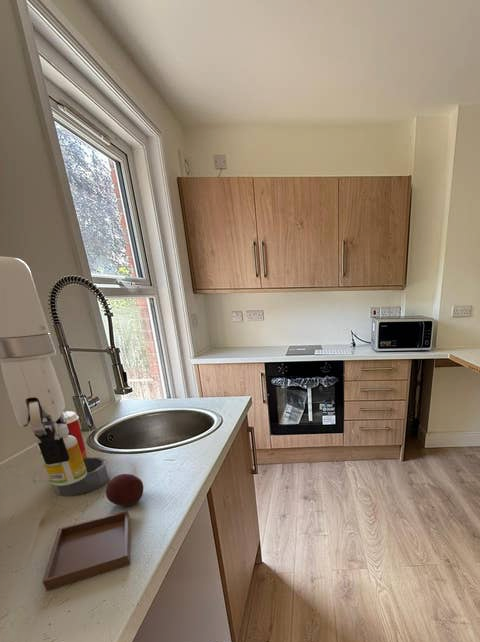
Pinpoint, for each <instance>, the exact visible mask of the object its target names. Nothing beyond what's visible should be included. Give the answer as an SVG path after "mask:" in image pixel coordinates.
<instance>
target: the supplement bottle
mask: <svg viewBox="0 0 480 642" xmlns="http://www.w3.org/2000/svg"><path fill="white" fill-rule="evenodd" d="M46 428H50V429H51V430H52V428H51V425H49V426H46ZM57 428H58V432H59V436H60V438H63V440H64V443H65V446H66V449H67V452H68V455H69V460H68V461H66V462H60V463H55V464H50V465H47V464H46V463H45V461H44V458H43V456H42V453H41V450H40V448H39V445H38V444H37V449H38V453H39V456H40V457H41V460H42V463H43V465H44V469H45V471H46V473H47V476H48V479H49V481H50V483H51V485H52V484H53V485H57V486H63V485H69V484H72V483H75V482H77V481H80V480H81V479H83V478H84V477H85V476H86V475H87V470H86V467H85V464H84V461H83V457H82V454H81V451H80V448H79V445H78V442H77V440H76V438H75V437H74V436H71V435H68V433H69V430H68V427H67V425H66V424H57ZM53 485H52V486H53Z"/></svg>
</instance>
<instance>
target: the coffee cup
mask: <svg viewBox="0 0 480 642" xmlns="http://www.w3.org/2000/svg"><path fill="white" fill-rule="evenodd" d="M63 414H64V417H65V419H66V422H67V425H68V427H69V430H70V433H71V436H74V437H75V438H76V440H77V442H78V445H79V448H80V451H81V454H82V457H83V458H86V457H88V455H87V451H86V446H85V442H84V438H83V433H82V430H81V425H80V421H79V419H80V417H79V415H78V414H77V413H76V412H75V411H71V410H67V411H63ZM43 422H44V420H43Z"/></svg>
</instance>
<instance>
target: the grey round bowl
mask: <svg viewBox="0 0 480 642" xmlns="http://www.w3.org/2000/svg"><path fill="white" fill-rule="evenodd" d="M83 461H84V464H85V467H86V470H87V475H86V476H85V477H84V478H83V479H81V480H80V481H77V482H75V483H72V484H69V485H63V486H57V485H53V484H52V483H51V485H52V488H53V490H54V493H56V494H58V496H60V497H63V496H64V497H75V496H79V495H83V494H87V493H90V492H93V491H95V490H97V489H99V488H102V487H103V486H104V485H106V484H108V483H109V481H110V480H111V474H110V470H109V466H108V463H107V459H105V458H102V457H101V456H87V457H86V458H83Z"/></svg>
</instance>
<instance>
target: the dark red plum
mask: <svg viewBox="0 0 480 642" xmlns="http://www.w3.org/2000/svg"><path fill="white" fill-rule="evenodd" d="M143 494H144V483H143V481H142V479H140V478H139V477H138V476H136V475H134V474H130V473H122V474H118V475H116V476H114V477H113V478H110V480H109V481H108V482H107V483H106V487H105V496H106V498H107V500H108V501H109V502H110V503H112V504H114V505H116V506H125V507H127V506H133V505H134V504H137V503H138V502H139V501H140V500H141V498H142V497H143Z"/></svg>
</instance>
